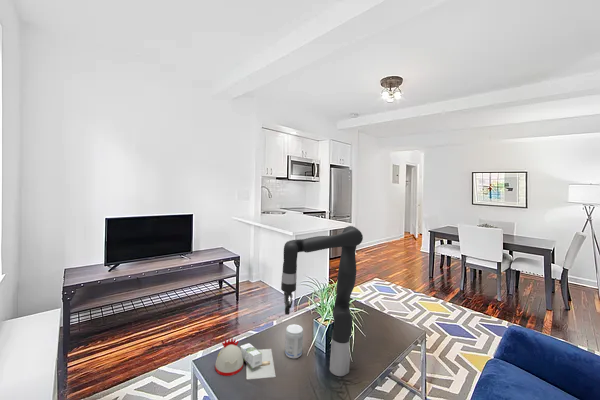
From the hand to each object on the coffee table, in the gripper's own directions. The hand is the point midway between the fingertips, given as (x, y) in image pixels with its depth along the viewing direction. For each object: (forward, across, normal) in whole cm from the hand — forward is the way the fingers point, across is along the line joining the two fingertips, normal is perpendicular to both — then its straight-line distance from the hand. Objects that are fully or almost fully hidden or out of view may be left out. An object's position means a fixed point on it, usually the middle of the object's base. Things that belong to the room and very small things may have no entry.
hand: (287, 313), depth 137 cm
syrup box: (+24, 0, +14) cm, 27 cm away
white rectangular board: (+29, +5, +12) cm, 32 cm away
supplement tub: (+29, +11, -7) cm, 32 cm away
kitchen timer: (+29, +5, +28) cm, 40 cm away
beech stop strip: (+29, +3, +12) cm, 32 cm away
